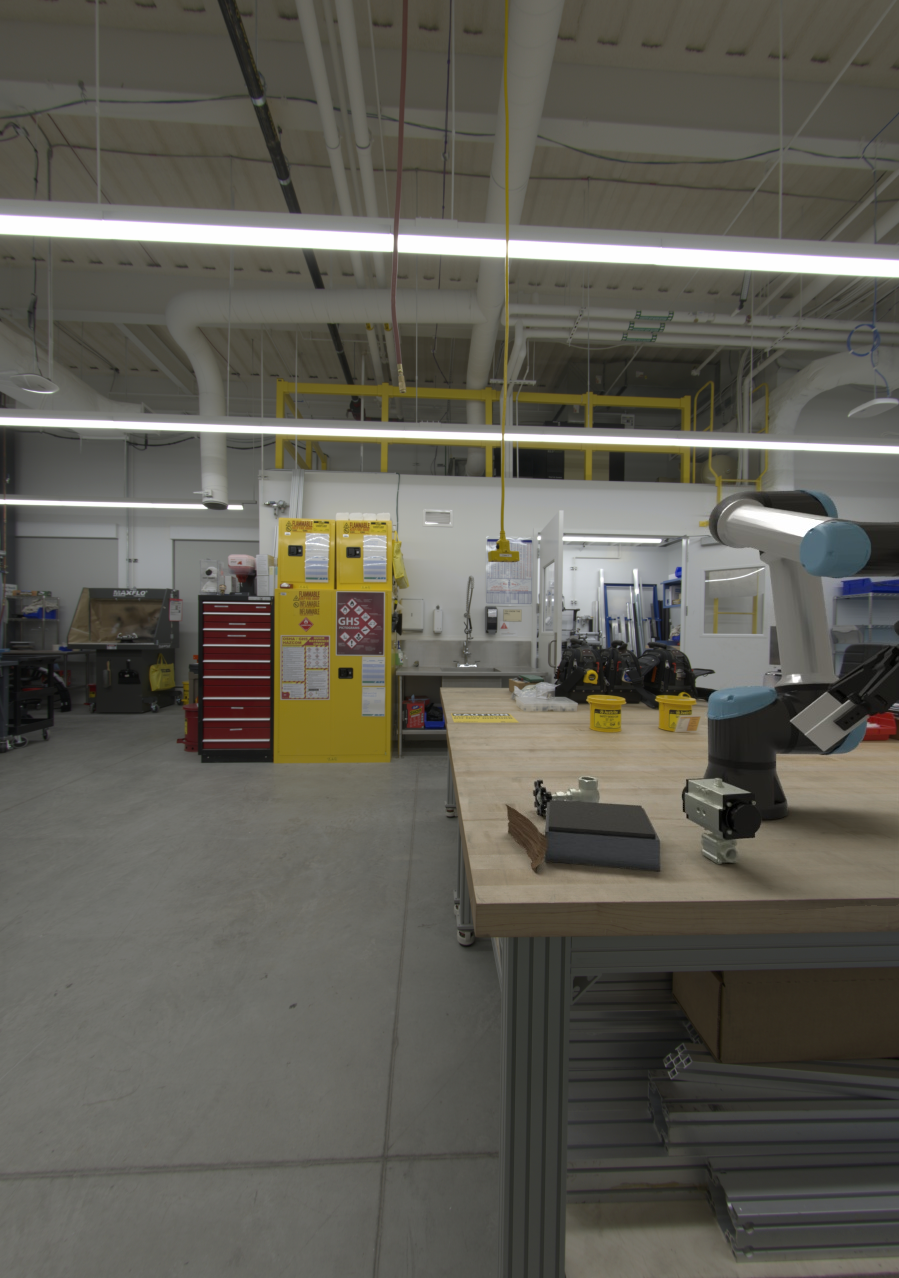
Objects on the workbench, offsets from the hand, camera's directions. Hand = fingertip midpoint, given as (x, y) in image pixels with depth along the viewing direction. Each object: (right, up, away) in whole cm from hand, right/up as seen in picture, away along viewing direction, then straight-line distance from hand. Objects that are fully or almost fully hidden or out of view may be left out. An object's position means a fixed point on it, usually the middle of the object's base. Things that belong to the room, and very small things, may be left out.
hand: (804, 735), depth 71 cm
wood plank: (-38, -20, +9) cm, 44 cm away
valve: (-27, -20, +26) cm, 42 cm away
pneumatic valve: (-9, -20, +5) cm, 23 cm away
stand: (-26, -20, +10) cm, 34 cm away
